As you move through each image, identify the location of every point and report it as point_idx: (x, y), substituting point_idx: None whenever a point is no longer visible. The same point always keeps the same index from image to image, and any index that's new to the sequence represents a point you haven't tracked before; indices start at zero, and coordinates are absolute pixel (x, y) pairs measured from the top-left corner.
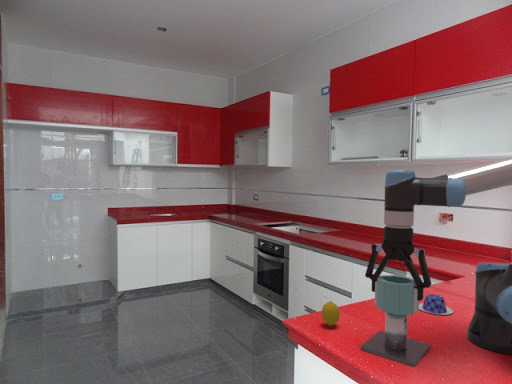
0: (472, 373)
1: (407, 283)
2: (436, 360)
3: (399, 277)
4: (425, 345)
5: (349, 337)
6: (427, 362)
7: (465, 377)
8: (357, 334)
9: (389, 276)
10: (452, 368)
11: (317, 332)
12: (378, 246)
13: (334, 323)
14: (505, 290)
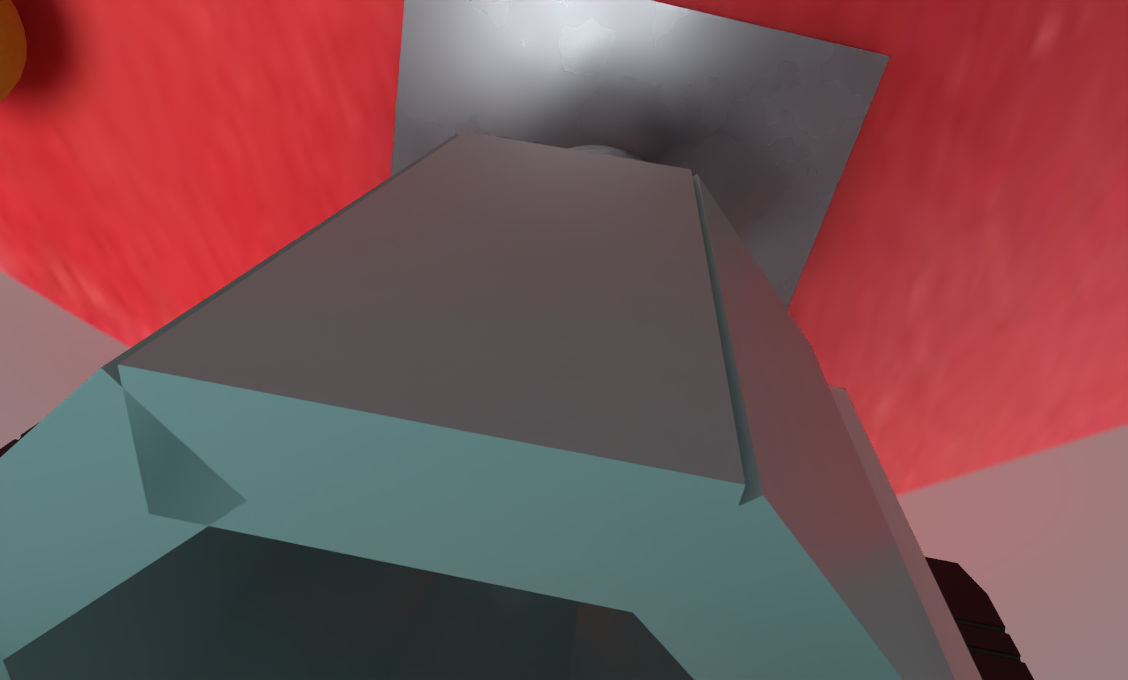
0: (1111, 366)
1: None
2: (892, 278)
3: (394, 544)
4: (844, 107)
5: (244, 180)
6: (820, 337)
7: (1035, 433)
8: (265, 81)
9: (86, 599)
10: (983, 352)
11: (27, 208)
12: None
13: (23, 64)
14: None
